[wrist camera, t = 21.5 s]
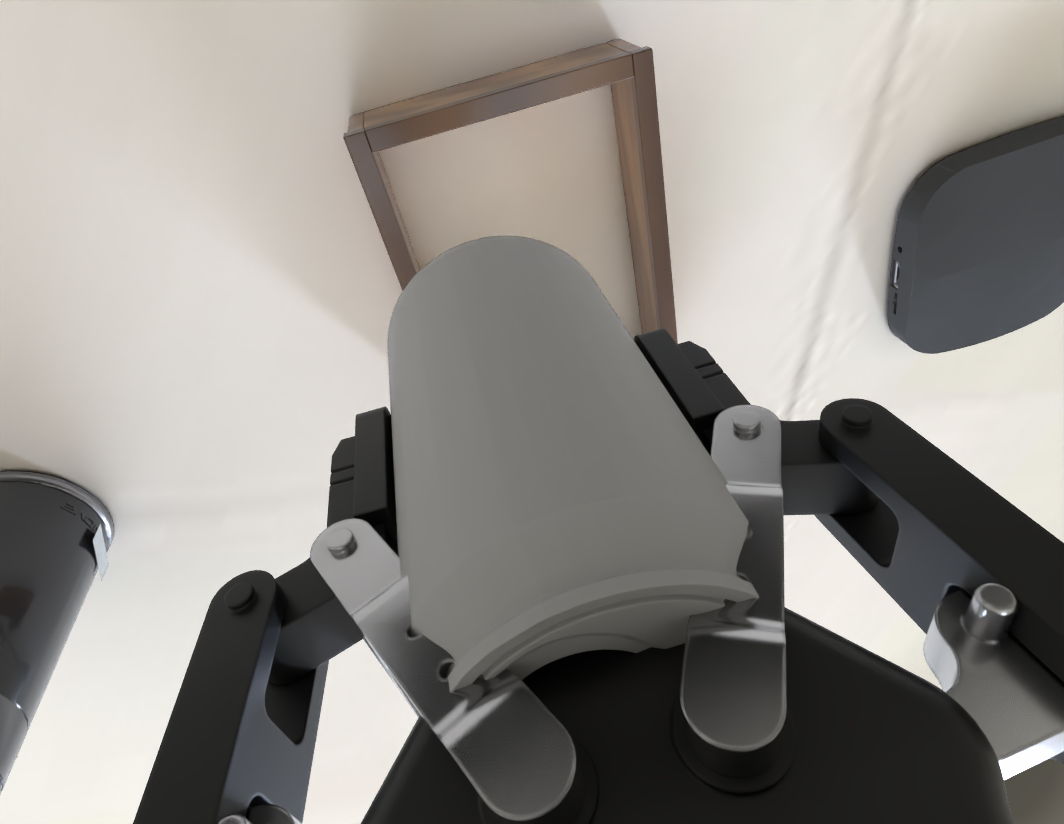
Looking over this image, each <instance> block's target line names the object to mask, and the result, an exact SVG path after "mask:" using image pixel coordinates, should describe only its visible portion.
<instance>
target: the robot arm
mask: <svg viewBox="0 0 1064 824" xmlns="http://www.w3.org/2000/svg"><path fill="white" fill-rule="evenodd" d="M635 343H636V345H637V346H638V348H639V349H640V351H641V352H642V354H643V355H644V357H645V358H646V360H647V361H648V363H649V364H650V366H651V367H652V369H653V370H654V372H655V373H656V375H657V376H658V378H659V379H660V381H661V382H662V384H663V385H664V387H665V388H666V390H667V391H668V393H669V394H670V396H671V397H672V399H673V400H674V402H675V403H676V405H677V406H678V408H679V409H680V411H681V413H682V414H683V416H684V417H685V419H686V420H687V422H688V423H689V425H690V426H691V428H692V429H693V431H694V432H695V434H696V435H697V437H698V438H699V440H700V441H701V443H702V444H703V446H704V447H705V449H706V450H707V452H708V453H709V455H710V456H711V458H712V459H713V461H714V462H715V464H716V465H717V467H718V468H719V470H720V471H721V473H722V474H723V476H724V477H725V479H726V481H727V482H728V484H727V483H726V487H727V489H728V491H729V492H730V494H731V495H732V497H733V498H734V500H735V502H736V503H737V505H738V506H739V508H740V509H741V511H742V512H743V514H744V515H745V517H746V518H747V520H748V522H749V524H748V531H749V535H748V537H746V538H745V541H744V543H743V546H742V549H741V552H740V555H739V558H738V562H737V566H736V573H737V575H738V576H740V577H741V578H742V579H743V580H745V581H747V582H750V583H752V585H753V587H754V589H755V590H756V592H757V594H758V595H759V598H751V599H748V600H745V601H740V602H735V601H732V600H728V599H725V600H724V604H725V606H724V607H721V608H718V609H715V610H712V611H708V612H705V613H701V614H696V615H690V617H689V620H688V625H687V631H686V640H685V643H684V644H680V645H677V646H674V647H671V648H667V649H661V648H654V647H650V648H648V649H646V650H643V651H641V652H638V653H634V652H629V651H623V650H606V649H605V650H592V651H585V652H580V653H576V654H572V655H569V656H566V657H563V658H560V659H557V660H555V661H552V662H550V663H548V664H546V665H544V666H542V667H540V668H539V669H537V670H535V671H534V672H532V673H531V674H529V675H528V676H527V677H525V678H524V679H523V680H521V679H520V678H519V677H518V676H517V675H516V674H514V673H513V672H511V671H509V670H508V669H505V670H504V671H503V672H501V673H500V674H498V675H497V676H496V677H494V678H491V679H488V680H485V679H484V676H483V675H479V676H478V677H477V679H476V680H475V681H474V682H473V683H472V684H470V685H468V686H465V687H462V688H459V689H456V690H455V691H454V692H451V693H450V689H449V680H448V678H446V675H447V671H448V668H449V666H450V665H451V664H453V663H454V664H455V665H456V663H455V660H454V658H453V657H452V656H451V654H449V653H448V652H447V651H446V650H445V649H443V648H442V647H440V646H439V645H437V644H436V643H434V642H433V641H431V640H430V639H428V638H427V637H426V636H424V635H423V634H422V633H420V634H419V635H418V636H416V637H411V624H412V623H411V610H410V594H409V581H408V577H407V575H404V576H403V577H402V578H401V571H400V558H399V557H398V542H397V522H396V503H395V483H394V464H393V444H392V425H391V415H390V412H389V411H388V409H387V408H386V407H382V408H379V409H375V410H372V411H368V412H365V413H361V414H358V415H356V425H355V436H353V437H350V438H346V439H343V440H341V441H340V443H339V445H338V447H337V448H336V450H335V452H334V453H333V455H332V464H331V473H332V474H331V477H330V484H331V486H330V491H329V505H328V518H327V528H326V529H325V530H324V531H323V532H322V533H321V534H320V535H319V536H318V537H317V538H316V540H315V541H314V543H313V545H312V547H311V551H310V558H309V559H307V560H306V561H305V562H303V563H302V564H300V565H299V566H297V567H295V568H293V569H292V570H290V571H288V572H286V573H285V574H283V575H281V576H279V577H278V578H276V579H274V578H273V576H272V575H271V574H270V573H268V572H266V571H261V570H255V571H249V572H246V573H243V574H240V575H238V576H236V577H235V578H233V579H232V580H230V581H229V582H227V583H226V584H225V585H224V586H223V587H222V588H221V589H220V590H219V591H218V592H217V593H216V595H215V596H214V598H213V599H212V601H211V603H210V606H209V609H208V611H207V614H206V617H205V620H204V623H203V626H202V629H201V631H200V634H199V637H198V640H197V643H196V646H195V648H194V651H193V654H192V657H191V660H190V663H189V666H188V668H187V671H186V674H185V677H184V680H183V683H182V686H181V688H180V691H179V694H178V697H177V700H176V703H175V705H174V708H173V711H172V714H171V717H170V720H169V723H168V725H167V728H166V731H165V734H164V737H163V740H162V743H161V745H160V748H159V751H158V754H157V757H156V760H155V762H154V765H153V768H152V771H151V774H150V777H149V780H148V782H147V785H146V788H145V791H144V794H143V797H142V800H141V802H140V805H139V808H138V811H137V814H136V817H135V820H134V822H133V824H302V821H303V815H304V809H305V803H306V797H307V790H308V784H309V778H310V772H311V766H312V760H313V754H314V748H315V742H316V736H317V730H318V724H319V718H320V711H321V705H322V699H323V693H324V687H325V681H326V675H327V669H328V663H329V659H331V658H333V657H334V656H336V655H337V654H339V653H341V652H342V651H344V650H345V649H347V648H349V647H350V646H352V645H353V644H355V643H357V642H358V641H360V640H362V639H363V640H364V641H365V642H366V644H367V645H368V647H369V648H370V649H371V651H372V652H373V654H374V655H375V657H376V658H377V659H378V661H379V662H380V664H381V665H382V666H383V668H384V669H385V671H386V672H387V674H388V675H389V676H390V678H391V679H392V681H393V682H394V683H395V685H396V686H397V688H398V689H399V691H400V692H401V693H402V695H403V696H404V698H405V699H406V701H407V702H408V704H409V705H410V707H411V708H412V709H413V711H414V712H415V714H416V715H417V717H418V720H417V722H416V724H415V725H414V727H413V729H412V731H411V733H410V735H409V736H408V738H407V740H406V742H405V744H404V746H403V747H402V749H401V751H400V753H399V755H398V757H397V758H396V760H395V762H394V764H393V766H392V768H391V769H390V771H389V773H388V775H387V777H386V779H385V780H384V782H383V784H382V786H381V788H380V790H379V791H378V793H377V795H376V797H375V799H374V801H373V802H372V804H371V806H370V808H369V810H368V812H367V813H366V815H365V817H364V819H363V821H362V823H361V824H1014V822H1013V818H1012V814H1011V811H1010V808H1009V804H1008V799H1007V794H1006V789H1005V783H1004V779H1007V778H1009V777H1011V776H1013V775H1015V774H1017V773H1019V772H1021V771H1023V770H1025V769H1027V768H1030V767H1032V766H1034V765H1036V764H1038V763H1040V762H1042V761H1044V760H1046V759H1049V758H1052V759H1054V760H1056V761H1058V762H1061V763H1064V543H1063V542H1061V541H1060V540H1059V539H1057V538H1056V537H1055V536H1054V535H1052V534H1051V533H1050V532H1048V531H1047V530H1046V529H1044V528H1043V527H1042V526H1040V525H1039V524H1038V523H1036V522H1035V521H1034V520H1032V519H1031V518H1030V517H1028V516H1027V515H1026V514H1024V513H1023V512H1022V511H1020V510H1019V509H1018V508H1016V507H1015V506H1014V505H1012V504H1011V503H1010V502H1009V501H1007V500H1006V499H1005V498H1003V497H1002V496H1001V495H999V494H998V493H997V492H995V491H994V490H993V489H991V488H990V487H989V486H987V485H986V484H985V483H983V482H982V481H981V480H979V479H978V478H977V477H975V476H974V475H973V474H971V473H970V472H969V471H967V470H966V469H965V468H963V467H962V466H961V465H960V464H958V463H957V462H956V461H954V460H953V459H952V458H950V457H949V456H948V455H946V454H945V453H944V452H942V451H941V450H940V449H938V448H937V447H936V446H934V445H933V444H932V443H930V442H929V441H928V440H926V439H925V438H924V437H922V436H921V435H920V434H918V433H917V432H916V431H915V430H913V429H912V428H911V427H909V426H908V425H907V424H905V423H904V422H903V421H901V420H900V419H899V418H897V417H896V416H895V415H893V414H892V413H891V412H889V411H888V410H887V409H885V408H884V407H882V406H881V405H879V404H877V403H874V402H871V401H868V400H864V399H852V398H851V399H842V400H838V401H834V402H832V403H830V404H829V405H827V406H826V407H825V408H824V409H823V410H822V412H821V416H820V420H809V421H781V420H779V419H778V417H777V416H776V415H775V414H774V413H773V412H771V411H770V410H768V409H766V408H763V407H760V406H755V405H750V403H749V402H748V401H747V400H746V398H745V397H744V396H743V395H742V393H741V392H740V391H739V390H738V389H737V387H736V386H735V385H734V384H733V382H732V381H731V380H730V379H729V377H728V376H727V375H726V374H725V373H723V370H722V369H721V368H720V366H719V365H718V364H716V362H715V360H714V359H713V358H712V357H711V355H710V354H709V353H708V352H707V350H706V349H704V348H702V347H700V346H698V345H696V344H694V343H692V342H690V341H688V342H684V343H681V344H676V342H675V341H674V340H673V338H672V337H671V336H670V334H669V333H668V332H667V330H666V329H665V328H662V329H658V330H655V331H651V332H648V333H644V334H641V335H637V336H635ZM813 514H814V515H815V516H816V518H817V519H818V520H819V521H820V522H821V523H822V524H823V525H824V526H825V527H826V528H827V529H828V530H829V531H830V532H831V533H832V535H833V536H834V537H835V538H836V539H837V540H838V541H839V542H840V543H841V544H842V545H843V546H844V547H845V548H846V549H847V550H848V552H849V553H850V554H851V555H852V556H853V557H854V558H855V559H856V560H857V561H858V562H859V563H860V564H861V565H862V566H863V567H864V568H865V570H866V571H867V572H868V573H869V574H870V575H871V576H872V577H873V578H874V579H875V580H876V581H877V582H878V583H879V584H880V585H881V587H882V588H883V589H884V590H885V591H886V592H887V593H888V594H889V595H890V596H891V597H892V598H893V599H894V600H895V601H896V602H897V603H898V605H899V606H900V607H901V608H902V609H903V610H904V611H905V612H906V613H907V614H908V615H909V616H910V617H911V618H912V619H913V620H914V622H915V623H916V624H917V625H918V626H919V627H920V628H921V629H922V630H923V631H924V632H925V633H926V634H927V635H926V638H925V641H924V646H923V651H924V656H925V660H926V662H927V664H928V666H929V668H930V669H931V670H932V672H933V673H934V675H935V676H936V678H937V679H938V681H939V683H940V685H941V687H942V690H941V689H940V688H938V687H937V686H935V685H933V684H932V683H930V682H928V681H926V680H925V679H923V678H921V677H919V676H917V675H915V674H913V673H911V672H909V671H907V670H905V669H903V668H901V667H900V666H898V665H896V664H894V663H892V662H890V661H888V660H886V659H884V658H882V657H880V656H878V655H876V654H874V653H872V652H870V651H868V650H867V649H865V648H863V647H861V646H859V645H857V644H855V643H853V642H851V641H849V640H847V639H845V638H843V637H841V636H839V635H837V634H836V633H834V632H832V631H830V630H828V629H826V628H824V627H822V626H820V625H818V624H816V623H814V622H812V621H810V620H808V619H807V618H805V617H803V616H801V615H799V614H797V613H795V612H793V611H791V610H789V609H787V608H785V607H784V532H783V515H813ZM113 535H114V525H113V521H112V518H111V516H110V514H109V512H108V511H107V509H106V508H105V507H104V506H103V504H102V503H101V502H100V501H99V500H98V499H96V498H95V497H94V496H93V495H91V494H90V493H88V492H87V491H85V490H84V489H82V488H80V487H78V486H76V485H74V484H72V483H70V482H67V481H65V480H62V479H59V478H56V477H53V476H49V475H44V474H39V473H33V472H21V471H9V472H0V794H1V791H2V789H3V787H4V785H5V783H6V780H7V778H8V776H9V773H10V771H11V769H12V766H13V764H14V762H15V759H16V757H17V755H18V752H19V750H20V748H21V746H22V743H23V741H24V739H25V736H26V734H27V731H28V729H29V726H30V724H31V722H32V720H33V717H34V715H35V713H36V710H37V708H38V706H39V703H40V701H41V699H42V697H43V694H44V692H45V690H46V687H47V685H48V683H49V680H50V678H51V676H52V674H53V671H54V669H55V667H56V664H57V662H58V660H59V657H60V655H61V653H62V651H63V648H64V646H65V644H66V641H67V639H68V637H69V634H70V632H71V630H72V627H73V625H74V623H75V621H76V618H77V616H78V614H79V611H80V609H81V607H82V604H83V602H84V600H85V598H86V595H87V593H88V591H89V588H90V586H91V584H92V582H93V579H94V577H95V575H96V572H97V570H98V568H99V572H100V577H101V581H102V578H103V576H104V574H105V571H106V569H107V567H108V564H109V563H108V558H107V551H108V549H109V546H110V544H111V542H112V539H113Z"/></svg>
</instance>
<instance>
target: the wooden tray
mask: <svg viewBox="0 0 1064 824" xmlns="http://www.w3.org/2000/svg"><path fill="white" fill-rule="evenodd" d="M608 84H611V90H612V98H613V106H614V114H615V121H616V129H617V137H618V145H619V153H620V161H621V169H622V177H623V185H624V193H625V201H626V209H627V217H628V225H629V232H630V240H631V248H632V256H633V264H634V272H635V280H636V288H637V296H638V304H639V312H640V320H641V328H642V334H644V333H648V332H651V331H655V330H658V329H662V328H665V329H666V330H667V332H668V333H669V334H670V336H671V337H672V338H673V340H674V341H675V342H676V344H678V342H677V331H676V319H675V308H674V296H673V284H672V273H671V261H670V249H669V238H668V226H667V214H666V203H665V191H664V180H663V168H662V156H661V145H660V133H659V121H658V110H657V98H656V86H655V75H654V63H653V51H652V48H650V47H647V46H646V47H643V48H641V47H638V46H636V45H634V44H631V43H629V42H626V41H624V40H621V39H616V40H612V41H609V42H606V43H602V44H598V45H595V46H591V47H588V48H584V49H581V50H578V51H574V52H571V53H567V54H564V55H560V56H557V57H553V58H550V59H546V60H543V61H539V62H536V63H532V64H529V65H525V66H522V67H518V68H515V69H511V70H508V71H505V72H501V73H498V74H494V75H491V76H487V77H484V78H480V79H477V80H473V81H470V82H466V83H463V84H459V85H456V86H452V87H449V88H445V89H442V90H438V91H435V92H432V93H428V94H425V95H421V96H418V97H414V98H411V99H407V100H404V101H400V102H397V103H393V104H390V105H386V106H383V107H379V108H376V109H372V110H369V111H365V113H359V114H355V115H352V116H350V118H349V126H348V133H344V140H345V143H346V145H347V148H348V151H349V153H350V156H351V158H352V161H353V163H354V166H355V169H356V171H357V174H358V176H359V179H360V182H361V184H362V187H363V189H364V192H365V195H366V197H367V200H368V202H369V205H370V207H371V210H372V213H373V215H374V218H375V220H376V223H377V226H378V228H379V231H380V233H381V236H382V239H383V241H384V244H385V246H386V249H387V251H388V254H389V257H390V259H391V262H392V264H393V267H394V270H395V272H396V275H397V277H398V280H399V283H400V285H401V288H402V290H404V289H405V287H406V286H407V285H408V283H409V282H410V281H411V279H412V278H413V277H414V276H415V275H416V274H417V273H418V272H419V271H420V267H419V264H418V261H417V259H416V256H415V253H414V250H413V248H412V245H411V242H410V239H409V236H408V234H407V231H406V228H405V225H404V222H403V220H402V217H401V214H400V211H399V208H398V206H397V203H396V200H395V197H394V194H393V192H392V189H391V186H390V183H389V181H388V178H387V175H386V172H385V169H384V167H383V164H382V161H381V158H380V155H379V153H378V151H380V150H384V149H387V148H391V147H394V146H398V145H401V144H404V143H408V142H411V141H415V140H418V139H422V138H425V137H429V136H432V135H436V134H439V133H442V132H446V131H449V130H453V129H456V128H460V127H463V126H467V125H470V124H474V123H477V122H480V121H484V120H487V119H491V118H494V117H498V116H501V115H505V114H508V113H512V112H515V111H518V110H522V109H525V108H529V107H532V106H536V105H539V104H543V103H546V102H550V101H553V100H556V99H560V98H563V97H567V96H570V95H574V94H577V93H581V92H584V91H588V90H591V89H594V88H598V87H601V86H605V85H608Z"/></svg>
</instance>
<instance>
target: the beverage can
mask: <svg viewBox="0 0 1064 824" xmlns="http://www.w3.org/2000/svg"><path fill="white" fill-rule="evenodd" d="M388 366H389V386H390V405H391V425H392V444H393V464H394V483H395V503H396V522H397V542H398V557H399V558H400V571H401V578H402V577H403V576H404V575H407V577H408V581H409V594H410V610H411V623H412V624H411V637H416V636H418V635H419V634H420V633H422V634H423V635H424V636H426V637H427V638H428V639H430V640H431V641H433V642H434V643H436V644H437V645H439V646H440V647H442V648H443V649H445V650H446V651H447V652H448V653H449V654H451V656H452V657H453V658H454V660H455V663H456V665H455V664H454V663H453V664H451V665H450V666H449V668H448V671H447V675H446V678H448V680H449V689H450V693H451V692H454V691H455V690H456V689H459V688H462V687H465V686H468V685H470V684H472V683H473V682H474V681H475V680H476V679H477V677H478V676H479V675H483V676H484V679H485V680H488V679H491V678H494V677H496V676H497V675H498V674H500V673H501V672H503V671H504V670H505V669H508V670H509V671H511V672H513V673H514V674H516V675H517V676H518V677H519V678H520V679H521V680H523V679H524V678H525V677H527V676H528V675H529V674H531V673H532V672H534V671H535V670H537V669H539V668H540V667H542V666H544V665H546V664H548V663H550V662H552V661H555V660H557V659H560V658H563V657H566V656H569V655H572V654H576V653H580V652H585V651H592V650H605V649H606V650H623V651H629V652H634V653H638V652H641V651H643V650H646V649H648V648H650V647H654V648H661V649H667V648H671V647H674V646H677V645H680V644H684V643H685V640H686V631H687V625H688V620H689V617H690V615H696V614H701V613H705V612H708V611H712V610H715V609H718V608H721V607H724V606H725V604H724V600H725V599H728V600H732V601H735V602H740V601H745V600H748V599H751V598H759V595H758V594H757V592H756V590H755V589H754V587H753V585H752V583H750V582H747V581H745V580H743V579H742V578H741V577H740V576H738V575H737V573H736V566H737V562H738V558H739V555H740V552H741V549H742V546H743V543H744V541H745V538H746V537H748V535H749V531H748V524H749V522H748V520H747V518H746V517H745V515H744V514H743V512H742V511H741V509H740V508H739V506H738V505H737V503H736V502H735V500H734V498H733V497H732V495H731V494H730V492H729V491H728V489H727V487H726V483H727V484H728V482H727V481H726V479H725V477H724V476H723V474H722V473H721V471H720V470H719V468H718V467H717V465H716V464H715V462H714V461H713V459H712V458H711V456H710V455H709V453H708V452H707V450H706V449H705V447H704V446H703V444H702V443H701V441H700V440H699V438H698V437H697V435H696V434H695V432H694V431H693V429H692V428H691V426H690V425H689V423H688V422H687V420H686V419H685V417H684V416H683V414H682V413H681V411H680V409H679V408H678V406H677V405H676V403H675V402H674V400H673V399H672V397H671V396H670V394H669V393H668V391H667V390H666V388H665V387H664V385H663V384H662V382H661V381H660V379H659V378H658V376H657V375H656V373H655V372H654V370H653V369H652V367H651V366H650V364H649V363H648V361H647V360H646V358H645V357H644V355H643V354H642V352H641V351H640V349H639V348H638V346H637V345H636V343H635V342H634V340H633V338H632V337H631V335H630V334H629V332H628V331H627V329H626V328H625V326H624V325H623V323H622V322H621V320H620V319H619V317H618V316H617V314H616V313H615V311H614V310H613V308H612V307H611V305H610V304H609V302H608V301H607V299H606V298H605V296H604V295H603V293H602V292H601V290H600V289H599V287H598V286H597V284H596V283H595V281H594V280H593V278H592V277H591V275H590V274H589V273H588V272H587V270H586V269H585V268H584V267H583V266H582V265H581V264H580V263H579V262H577V261H576V260H575V259H574V258H573V257H571V256H570V255H568V254H567V253H566V252H564V251H562V250H560V249H559V248H557V247H555V246H552V245H550V244H548V243H545V242H542V241H539V240H535V239H531V238H526V237H518V236H493V237H485V238H480V239H476V240H472V241H469V242H465V243H463V244H460V245H458V246H456V247H453V248H451V249H449V250H447V251H445V252H444V253H442V254H440V255H439V256H438V257H436V258H435V259H434V260H432V261H431V262H430V263H429V264H427V265H426V266H425V267H424V268H422V269H421V270H420V271H419V272H418V273H417V274H416V275H415V276H414V277H413V278H412V279H411V281H410V282H409V283H408V285H407V286H406V287H405V289H404V290H403V292H402V293H401V295H400V297H399V299H398V301H397V303H396V305H395V308H394V310H393V313H392V317H391V320H390V325H389V330H388Z"/></svg>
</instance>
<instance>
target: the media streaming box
mask: <svg viewBox="0 0 1064 824" xmlns="http://www.w3.org/2000/svg"><path fill="white" fill-rule="evenodd" d="M1063 302H1064V116H1063V117H1060V118H1056V119H1053V120H1050V121H1046V122H1043V123H1040V124H1037V125H1033V126H1030V127H1027V128H1024V129H1021V130H1018V131H1015V132H1012V133H1009V134H1006V135H1004V136H1001V137H998V138H995V139H992V140H990V141H987V142H984V143H982V144H979V145H976V146H974V147H971V148H969V149H966V150H964V151H961V152H959V153H956V154H954V155H951V156H949V157H946V158H945V159H943V160H941V161H940V162H938V163H937V164H935V165H934V166H933V167H932V168H930V169H929V170H928V171H927V172H926V173H925V174H924V175H923V176H922V177H921V178H920V179H919V180H918V181H917V183H916V184H915V185H914V186H913V188H912V189H911V191H910V192H909V194H908V195H907V197H906V199H905V201H904V203H903V205H902V207H901V210H900V213H899V217H898V222H897V229H896V235H895V242H894V249H893V257H892V265H891V275H890V285H889V299H888V320H887V321H888V326H889V328H890V330H891V332H892V333H893V334H894V335H895V336H896V337H898V338H899V339H900V340H902V341H903V342H904V343H906V344H907V345H908V346H910V347H911V348H912V349H914V350H916V351H918V352H922V353H931V354H934V353H941V352H946V351H951V350H955V349H960V348H964V347H967V346H971V345H975V344H978V343H981V342H985V341H988V340H991V339H994V338H997V337H999V336H1002V335H1005V334H1008V333H1010V332H1013V331H1015V330H1017V329H1020V328H1022V327H1024V326H1027V325H1029V324H1031V323H1033V322H1035V321H1037V320H1039V319H1041V318H1043V317H1045V316H1046V315H1048V314H1049V313H1051V312H1052V311H1053V310H1055V309H1056V308H1057V307H1059V306H1060V305H1061V304H1062V303H1063Z"/></svg>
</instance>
